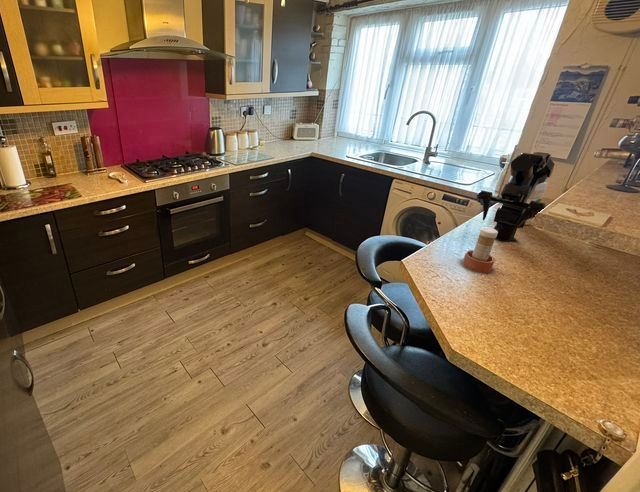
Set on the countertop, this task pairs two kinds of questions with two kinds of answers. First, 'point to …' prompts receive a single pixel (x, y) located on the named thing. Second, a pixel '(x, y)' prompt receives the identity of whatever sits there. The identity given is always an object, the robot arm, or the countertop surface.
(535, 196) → the juice carton
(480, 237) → the sprinkles bottle
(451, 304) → the countertop surface
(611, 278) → the countertop surface
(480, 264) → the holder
